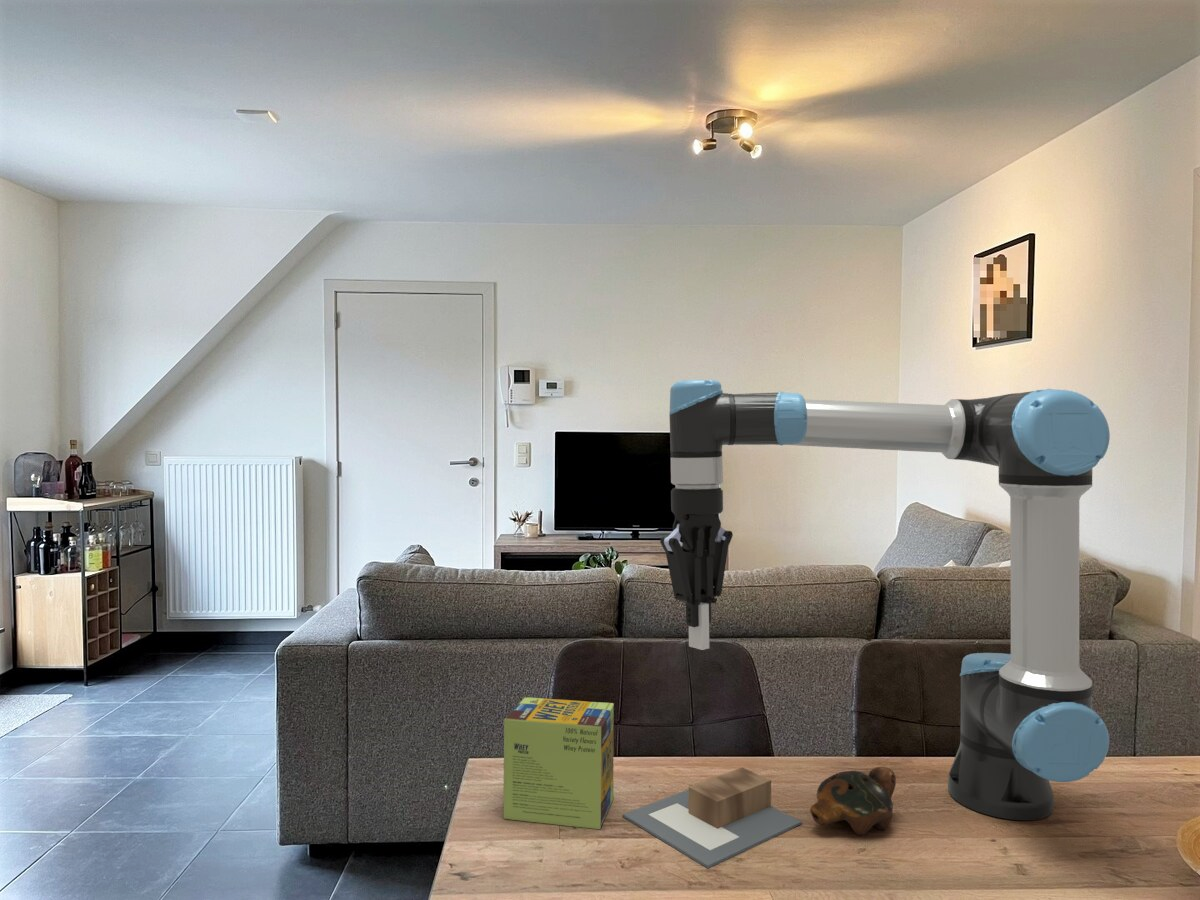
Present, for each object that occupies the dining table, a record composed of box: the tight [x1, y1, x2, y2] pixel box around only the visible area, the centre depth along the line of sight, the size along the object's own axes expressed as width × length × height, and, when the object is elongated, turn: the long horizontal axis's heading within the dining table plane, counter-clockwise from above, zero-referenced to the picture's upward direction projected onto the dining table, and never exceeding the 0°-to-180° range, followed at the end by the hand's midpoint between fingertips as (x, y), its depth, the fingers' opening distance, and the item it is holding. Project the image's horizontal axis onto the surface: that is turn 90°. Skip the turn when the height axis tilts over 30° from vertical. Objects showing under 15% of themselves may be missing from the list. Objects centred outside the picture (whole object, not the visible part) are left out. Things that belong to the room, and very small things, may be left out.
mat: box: [622, 788, 803, 869], centre depth 119 cm, size 18×20×1 cm
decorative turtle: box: [809, 766, 897, 837], centre depth 118 cm, size 10×15×8 cm, turn 119°
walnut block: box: [688, 767, 772, 829], centre depth 122 cm, size 6×4×12 cm
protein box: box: [502, 697, 615, 830], centre depth 123 cm, size 10×15×16 cm
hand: (699, 647), depth 116 cm, fingers closed
